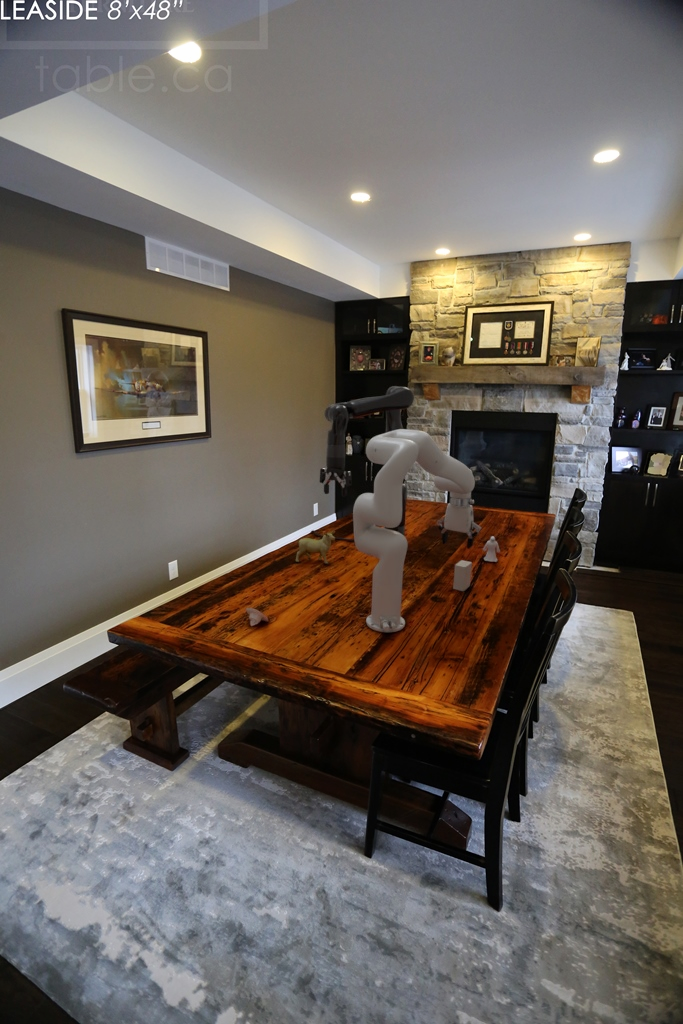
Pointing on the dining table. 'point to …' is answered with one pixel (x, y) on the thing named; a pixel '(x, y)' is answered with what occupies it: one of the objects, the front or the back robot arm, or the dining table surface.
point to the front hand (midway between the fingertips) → (456, 545)
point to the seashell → (255, 616)
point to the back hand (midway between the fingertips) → (335, 495)
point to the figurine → (491, 550)
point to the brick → (462, 575)
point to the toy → (315, 546)
